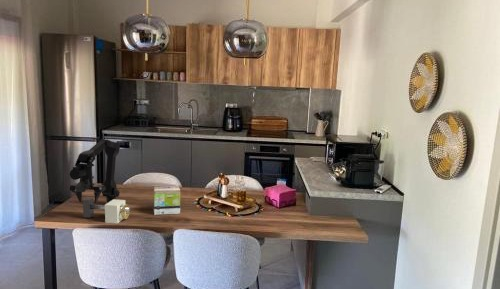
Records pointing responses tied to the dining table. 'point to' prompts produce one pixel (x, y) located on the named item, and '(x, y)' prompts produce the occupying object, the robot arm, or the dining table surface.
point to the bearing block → (114, 211)
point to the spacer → (124, 211)
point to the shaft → (94, 207)
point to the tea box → (166, 200)
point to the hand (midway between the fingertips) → (88, 202)
